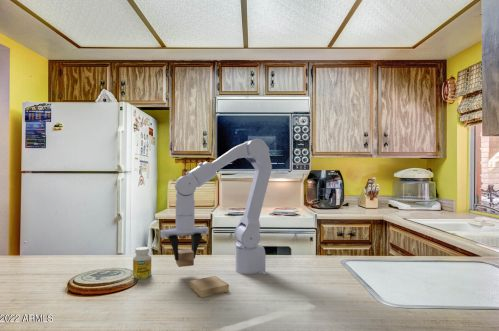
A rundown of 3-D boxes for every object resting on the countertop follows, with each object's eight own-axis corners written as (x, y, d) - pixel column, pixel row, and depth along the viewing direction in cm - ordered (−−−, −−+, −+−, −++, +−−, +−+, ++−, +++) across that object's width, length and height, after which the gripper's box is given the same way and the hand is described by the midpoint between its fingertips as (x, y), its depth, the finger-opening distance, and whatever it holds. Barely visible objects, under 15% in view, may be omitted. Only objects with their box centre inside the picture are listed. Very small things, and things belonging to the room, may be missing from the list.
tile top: (215, 281, 91) (215, 275, 91) (228, 291, 84) (228, 284, 84) (189, 287, 86) (189, 280, 86) (201, 297, 80) (201, 290, 80)
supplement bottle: (148, 275, 99) (148, 245, 99) (153, 280, 94) (153, 248, 95) (130, 278, 96) (131, 247, 96) (135, 283, 92) (135, 251, 92)
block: (190, 261, 98) (190, 248, 99) (193, 265, 94) (193, 252, 94) (176, 262, 97) (176, 249, 97) (178, 267, 93) (179, 253, 93)
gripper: (204, 211, 102) (204, 252, 102) (159, 214, 96) (159, 257, 96) (210, 214, 96) (210, 258, 96) (162, 217, 90) (162, 264, 90)
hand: (184, 258), depth 96 cm, fingers closed on block, 4 cm apart
